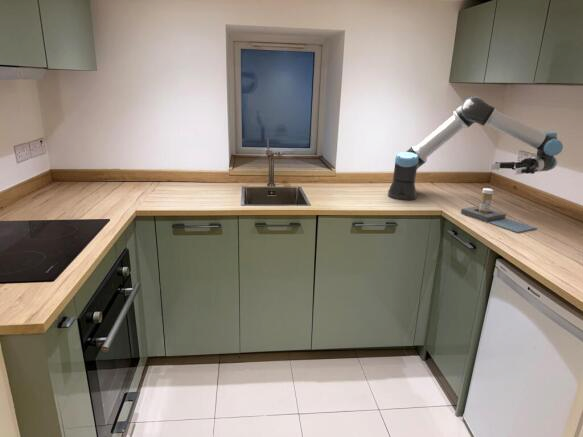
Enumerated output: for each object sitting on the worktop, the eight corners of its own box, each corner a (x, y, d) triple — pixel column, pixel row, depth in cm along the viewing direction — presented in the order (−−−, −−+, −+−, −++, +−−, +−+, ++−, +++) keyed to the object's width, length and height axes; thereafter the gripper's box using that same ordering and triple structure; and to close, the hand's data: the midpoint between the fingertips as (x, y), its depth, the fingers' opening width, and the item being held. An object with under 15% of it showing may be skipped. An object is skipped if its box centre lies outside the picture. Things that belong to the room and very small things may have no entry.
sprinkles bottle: (475, 214, 198) (481, 187, 194) (484, 214, 198) (490, 187, 194) (480, 217, 193) (486, 190, 189) (489, 217, 194) (495, 190, 190)
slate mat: (488, 223, 186) (488, 221, 186) (507, 219, 193) (507, 218, 193) (517, 233, 175) (517, 231, 174) (536, 229, 181) (536, 227, 181)
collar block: (460, 213, 198) (461, 208, 197) (479, 210, 205) (480, 205, 204) (486, 222, 187) (487, 217, 186) (505, 218, 194) (506, 213, 193)
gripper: (555, 176, 193) (526, 181, 184) (507, 169, 214) (479, 173, 205) (558, 161, 191) (528, 165, 182) (509, 154, 212) (481, 158, 203)
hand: (502, 169), depth 194 cm, fingers open, 13 cm apart
